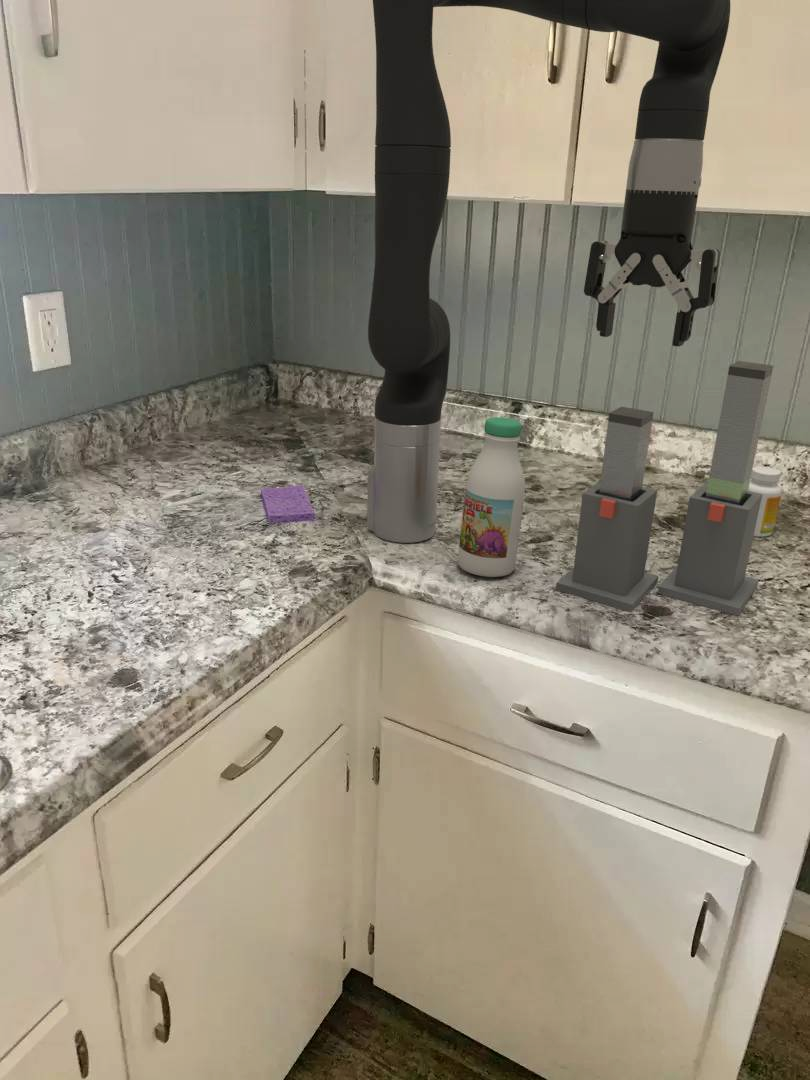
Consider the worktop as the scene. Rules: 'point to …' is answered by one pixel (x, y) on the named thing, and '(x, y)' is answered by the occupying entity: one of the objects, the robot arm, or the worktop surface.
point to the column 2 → (738, 431)
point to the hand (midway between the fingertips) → (641, 340)
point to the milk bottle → (493, 503)
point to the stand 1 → (612, 550)
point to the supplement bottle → (766, 498)
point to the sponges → (287, 504)
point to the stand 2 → (715, 554)
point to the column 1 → (625, 453)
